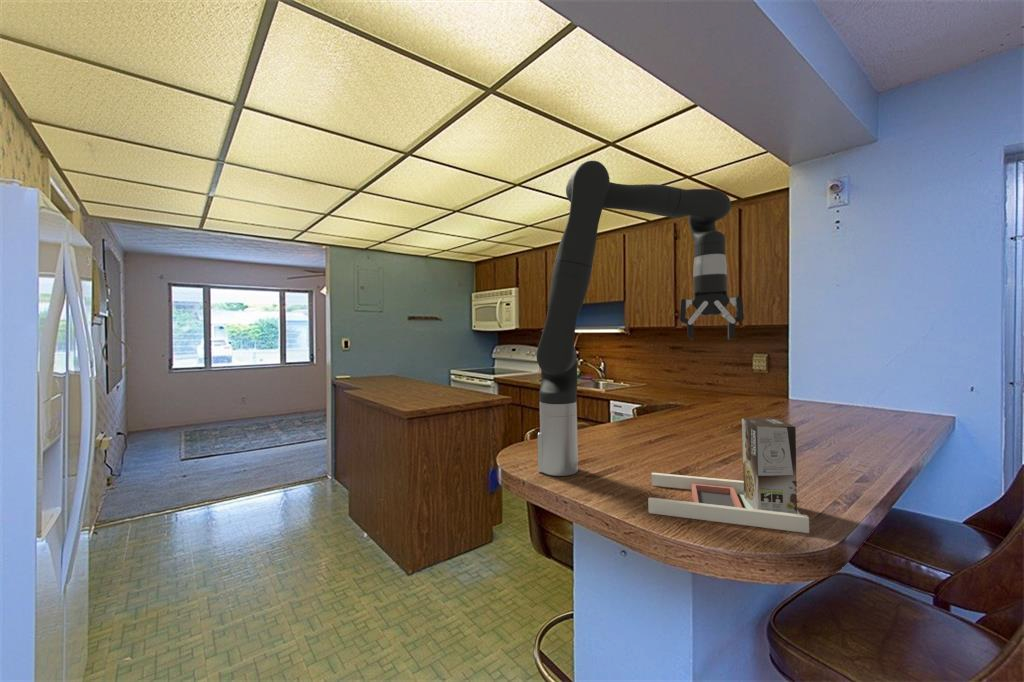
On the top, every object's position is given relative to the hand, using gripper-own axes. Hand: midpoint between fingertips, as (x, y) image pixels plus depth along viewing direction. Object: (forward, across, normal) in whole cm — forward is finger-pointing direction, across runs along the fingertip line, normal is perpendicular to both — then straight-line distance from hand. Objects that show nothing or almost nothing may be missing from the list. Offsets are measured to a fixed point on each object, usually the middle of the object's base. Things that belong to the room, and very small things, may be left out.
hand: (710, 339), depth 102 cm
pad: (+32, +7, -25) cm, 41 cm away
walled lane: (+32, -1, -25) cm, 41 cm away
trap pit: (+32, -2, -25) cm, 41 cm away
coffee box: (+32, +7, -25) cm, 41 cm away
